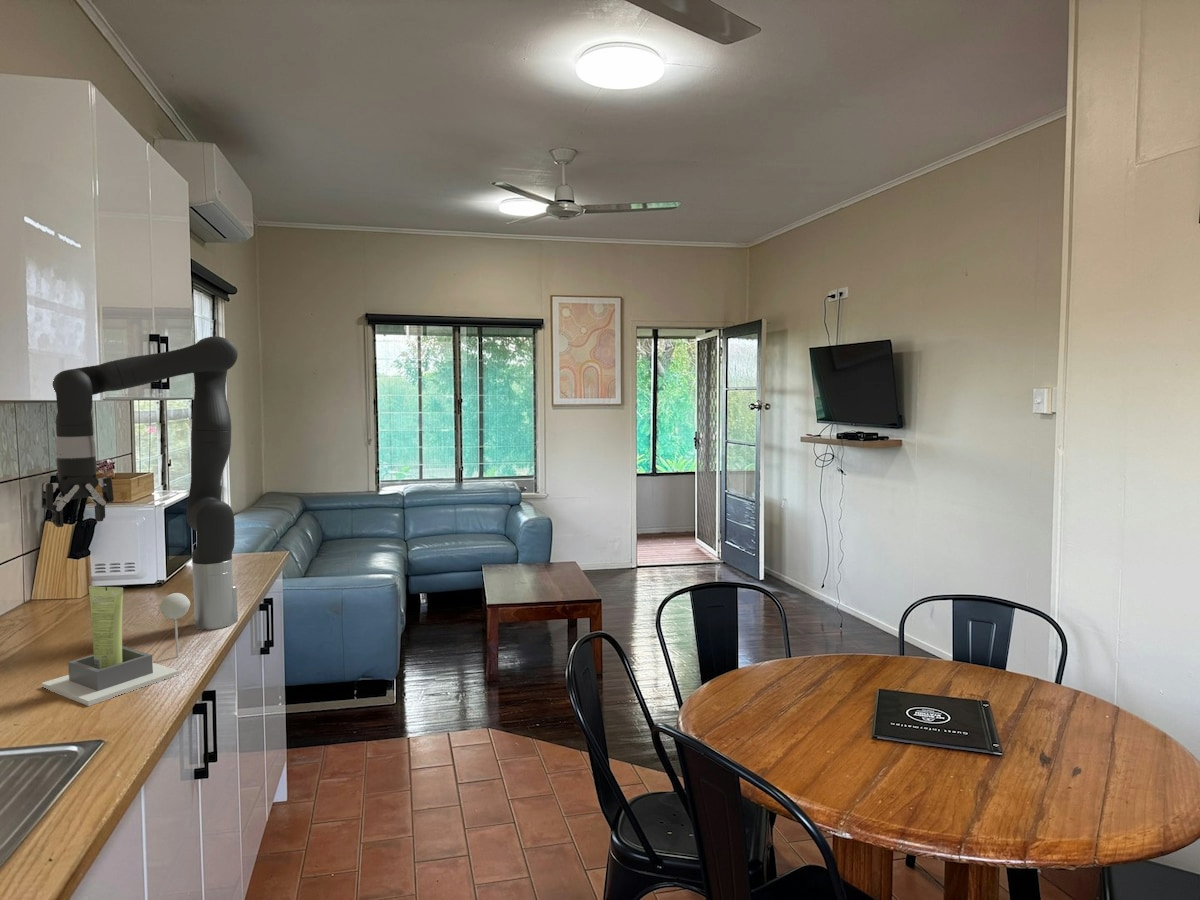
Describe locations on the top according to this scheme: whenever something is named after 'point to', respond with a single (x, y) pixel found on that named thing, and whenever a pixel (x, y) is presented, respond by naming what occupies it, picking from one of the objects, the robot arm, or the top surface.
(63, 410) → the robot arm
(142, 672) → the socket
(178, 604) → the lollipop
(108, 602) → the tube
